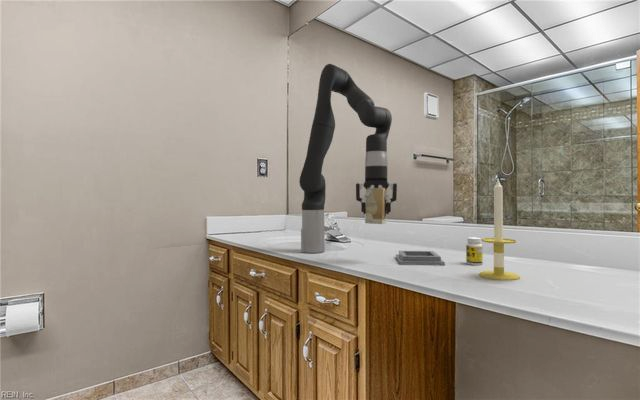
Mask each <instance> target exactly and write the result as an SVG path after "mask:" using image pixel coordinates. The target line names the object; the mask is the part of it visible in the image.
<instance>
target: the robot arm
mask: <svg viewBox="0 0 640 400" xmlns="http://www.w3.org/2000/svg"><path fill="white" fill-rule="evenodd" d="M332 92H334V93H336V94H340V95H342V96H343V97H345V98H346V101H347V104H348V105H349V107H351V109H352V110H353V111H354V112H355V113H357V116H358V118H359V120H360V123H362V124H363V125H364V126H366V127H369V128H373V129H375V132H374V133H373V134H368V135H367V137H366V139H365V157H364V158H365V159H364V183H358V182H356V183H355V200H356V201H358V202H360V203H361V206H360V208H361V213H363V215H365V210H366V199H367V198H368V196H369V195H370V193H371V191H372V190H373V188H385V190H386V189H387V190H388V188H390V190H392V194H391V195H392V196H391V198H390V197H389V195H388V193H386V192H385V190H384V193H385V194H384V197H385V199H386V215H389V213H391V211H392V210H391V208H392V207H391V204H392V203H393V202H397V191H398V189H397V187H398V185H397V183H396V182H395V183H389V182H388V152H387V151H388V150H387V149H388V148H387V147H388V143H387V142H388V137H389V133H390V131H391V130H390V129H391V126H392V122H393V117H392V113H391V111H390V110H389V109H388V108H385V107H383V106H382V107H381V106H376V105H375V102H374V100H373V98H371V97H370V95H368V94H367V93H366V92H364V91H363V90H362V89H361V88H360V87H358V85H357V84H356V83H355V81H354V80H353V78H352V76H351V75H350V74H349V73H348V71H346V70H345V69H343V68H340V67H339V66H336V65H335V64H332V63H327V64H326V65H325V66H324V67H323V69H322V70H321V73H320V77H319V83H318V90H317V99H316V100H317V101H316V104H315V105H316V107H315V109H314V110H315V111H314V116H313V119H312V120H313V121H312V125H311V129H310V135H309V140H308V145H307V151H306V157H305V160H304V162H303V163H304V164H303V167H302V169H301V172H300V176H299V179H298V180H299V186H300V188H301V190H302V191H304V192H303V201H302V203H301V229H300V247H301V248H300V252H301V253H306V254H320V253H324V252H325V250H326V247H325V245H326V244H325V243H326V242H325V233H326V232H325V203H326V187H327V186H326V185H327V184H326V179H325V176H324V175H323V174H322V171H323V166H324V160H325V158H326V155H327V153H328V151H329V149H330V147H331V145H332V142H333V138H334V133H335V129H336V120H335V119H336V118H335V115H334V112H333V111H334V110H333V108H332V102H331V101H332V100H331V99H332ZM363 188H364V189H365V190H366V189H367V188H369V190H368V191H367V193H366V192H365V194H364V196H363V197H362V198H361V195H360V194H361V190H362V189H363ZM369 191H370V192H369Z"/></svg>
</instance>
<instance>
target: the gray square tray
mask: <svg viewBox="0 0 640 400" xmlns="http://www.w3.org/2000/svg"><path fill="white" fill-rule="evenodd" d="M395 258H396V260H397V263H398V264H399V265H402V266H403V265H405V266H406V265H408V266H446V265H445V264H446V262H445V261H444V260H443V259H442V256H441V255H439V254H438V253H437V252H435V251H433V250H398V254H395Z"/></svg>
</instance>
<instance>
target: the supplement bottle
mask: <svg viewBox="0 0 640 400" xmlns="http://www.w3.org/2000/svg"><path fill="white" fill-rule="evenodd" d="M481 239H482V238H480V237H474V236H472V237H467V243H466V246H465V247H466V249H465V250H466V252H465V254H466V257H465V259H466V264H467V265H471V266H481V265H483V244H482V240H481Z"/></svg>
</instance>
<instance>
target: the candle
mask: <svg viewBox="0 0 640 400" xmlns="http://www.w3.org/2000/svg"><path fill="white" fill-rule="evenodd" d="M503 192H504V191H503V185H501V183H500V179H497V180H496V182H495V185H494V186H493V233H494V234H493V235H494V237H488V238H487V237H484V238H481V242H484V243H489V244H493V270H482V271H479V273H478V275H479V276H480V277H482V278H485V279H486V278H487V279H491V280H498V281H517V280H520V277H521V276H520V275H519V274H517V273H513V272H508V271H505V246H504V244H505V245H507V244H516V243H517V240H516V239H512V238H504V220H503V219H504V212H503V211H504V209H503V207H504V206H503V205H504V203H503V199H504V198H503V197H504V196H503Z"/></svg>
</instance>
